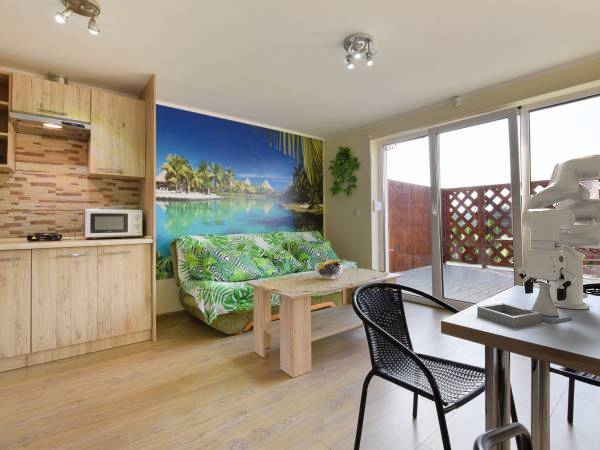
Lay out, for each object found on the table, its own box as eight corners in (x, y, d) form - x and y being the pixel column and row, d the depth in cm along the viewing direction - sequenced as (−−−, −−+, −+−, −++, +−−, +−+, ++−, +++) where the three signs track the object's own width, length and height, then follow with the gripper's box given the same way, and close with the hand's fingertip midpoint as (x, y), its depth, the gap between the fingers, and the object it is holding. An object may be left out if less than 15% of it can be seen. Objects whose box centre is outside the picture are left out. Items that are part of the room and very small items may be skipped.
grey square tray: (503, 311, 106) (503, 302, 106) (541, 322, 94) (541, 313, 94) (477, 315, 102) (477, 306, 101) (513, 327, 90) (514, 317, 90)
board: (538, 310, 106) (538, 308, 106) (571, 319, 96) (571, 316, 96) (518, 314, 102) (518, 311, 102) (551, 323, 93) (551, 320, 93)
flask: (564, 317, 95) (564, 286, 95) (538, 316, 96) (538, 286, 96) (549, 310, 102) (549, 282, 102) (526, 310, 104) (526, 281, 103)
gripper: (583, 247, 92) (583, 302, 92) (525, 243, 108) (525, 290, 109) (568, 248, 89) (567, 304, 90) (510, 244, 106) (510, 291, 106)
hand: (544, 296), depth 99 cm, fingers open, 9 cm apart
